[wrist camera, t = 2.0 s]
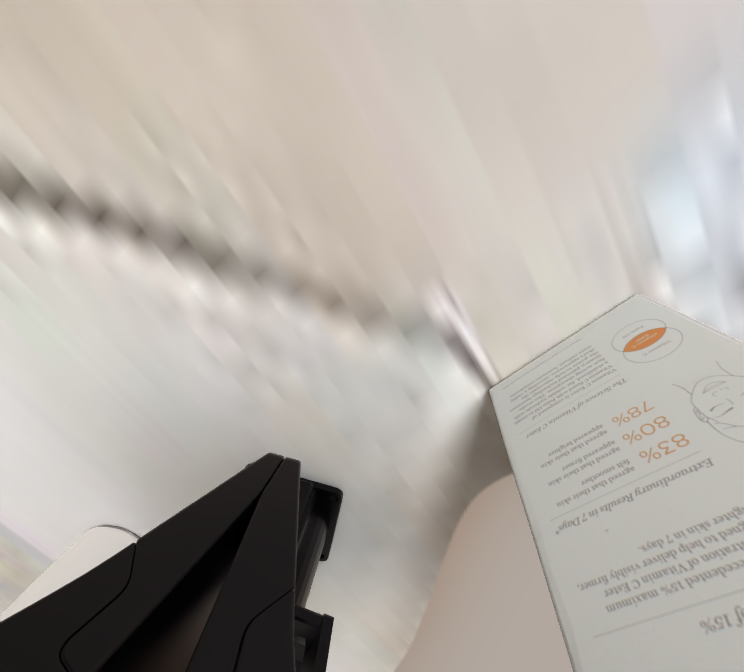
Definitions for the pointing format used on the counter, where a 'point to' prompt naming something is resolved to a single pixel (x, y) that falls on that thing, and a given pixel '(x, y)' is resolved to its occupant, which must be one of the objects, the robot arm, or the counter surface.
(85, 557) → the can
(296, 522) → the robot arm
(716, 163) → the counter surface
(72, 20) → the counter surface
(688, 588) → the small box
